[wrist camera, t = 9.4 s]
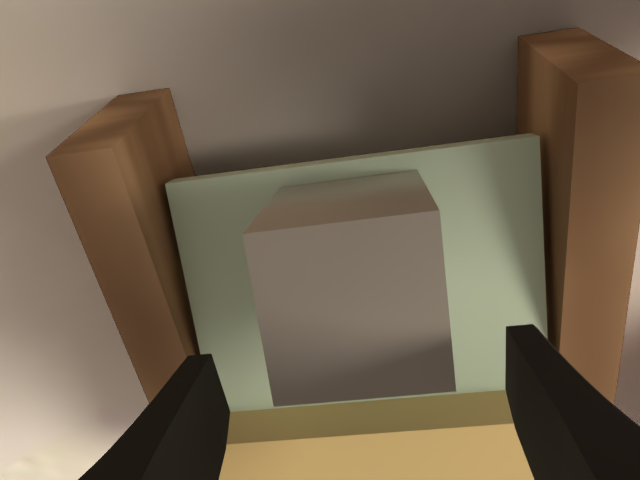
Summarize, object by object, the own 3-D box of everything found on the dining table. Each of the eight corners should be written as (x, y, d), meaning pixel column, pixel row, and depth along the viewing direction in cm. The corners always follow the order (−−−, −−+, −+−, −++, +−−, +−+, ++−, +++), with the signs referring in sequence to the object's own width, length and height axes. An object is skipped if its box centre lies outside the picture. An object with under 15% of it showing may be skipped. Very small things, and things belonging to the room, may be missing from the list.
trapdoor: (530, 132, 19) (560, 142, 16) (543, 430, 21) (571, 484, 18) (174, 178, 20) (142, 195, 17) (230, 452, 23) (210, 506, 20)
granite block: (417, 169, 18) (439, 210, 12) (430, 298, 19) (456, 391, 14) (280, 187, 19) (241, 234, 13) (301, 312, 20) (273, 406, 14)
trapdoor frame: (578, 27, 20) (660, 72, 14) (555, 373, 28) (603, 482, 22) (117, 95, 22) (45, 157, 16) (220, 401, 29) (193, 507, 24)
